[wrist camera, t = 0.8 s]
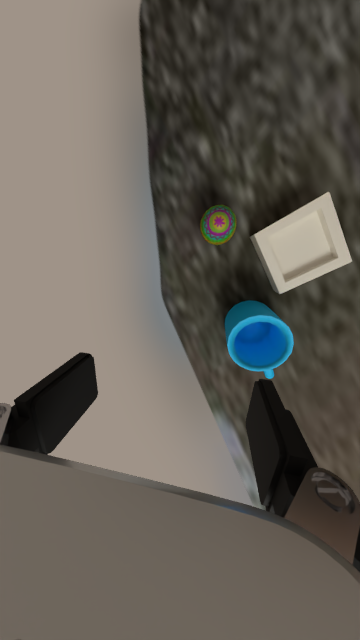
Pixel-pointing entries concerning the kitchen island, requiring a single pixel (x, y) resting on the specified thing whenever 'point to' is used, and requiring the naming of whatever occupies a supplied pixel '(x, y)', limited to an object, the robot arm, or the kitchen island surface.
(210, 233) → the egg
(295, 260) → the square tray
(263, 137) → the kitchen island surface
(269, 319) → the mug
